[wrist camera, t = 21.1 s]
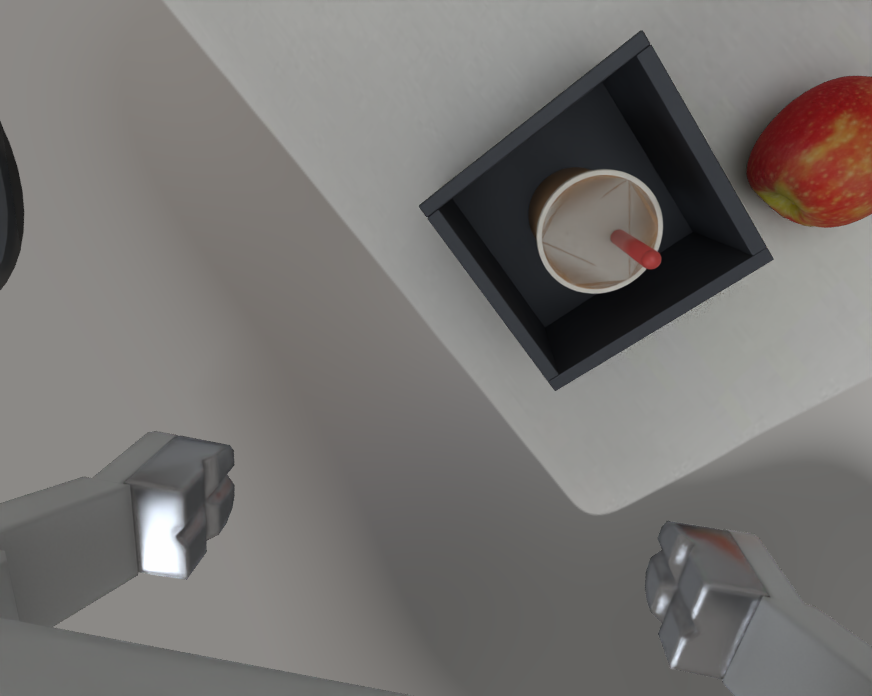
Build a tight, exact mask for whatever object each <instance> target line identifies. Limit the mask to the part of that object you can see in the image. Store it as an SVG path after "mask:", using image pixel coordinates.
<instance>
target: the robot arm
mask: <svg viewBox="0 0 872 696" xmlns="http://www.w3.org/2000/svg"><path fill="white" fill-rule="evenodd" d="M233 466H234V450H233V449H232V448H231V446H230V445H226V444H221V443H216V442H211V441H206V440H201V439H195V438H190V437H185V436H178V435H174V434H169V433H163V432H157V431H154V432H148V433H147V434H145V435H144V436H143V437H142V438H140V439H139V440H138V441H137V442H135V444H133V445H132V446H131V447H130V448H128V449H127V450H126V451H125V452H123V453H122V454H121V455H120V456H118V457H117V458H116V459H115V460H113V461H112V462H111V463H110V464H109V465H107V466H106V467H105V468H104V469H103V470H101V471H100V472H99V473H98V474H96V475H95V476H94V477H93V478H89V477H81V478H78V479H75V480H71V481H68V482H65V483H62V484H59V485H56V486H53V487H50V488H47V489H44V490H40V491H37V492H34V493H31V494H28V495H25V496H21V497H18V498H15V499H12V500H9V501H6V502H3V503H0V696H412V695H407V694H402V693H396V692H391V691H386V690H381V689H375V688H370V687H365V686H359V685H354V684H349V683H343V682H338V681H333V680H327V679H322V678H317V677H312V676H306V675H301V674H296V673H290V672H285V671H280V670H275V669H269V668H264V667H259V666H253V665H248V664H242V663H238V662H232V661H227V660H222V659H216V658H211V657H206V656H201V655H195V654H190V653H185V652H180V651H174V650H169V649H164V648H158V647H153V646H147V645H142V644H137V643H132V642H127V641H121V640H116V639H111V638H105V637H100V636H95V635H89V634H84V633H79V632H74V631H69V630H63V629H58V628H53V626H55V625H57V624H58V623H60V622H62V621H63V620H65V619H67V618H68V617H70V616H71V615H73V614H75V613H76V612H78V611H79V610H81V609H83V608H85V607H86V606H88V605H90V604H91V603H93V602H94V601H96V600H98V599H99V598H101V597H103V596H104V595H106V594H108V593H109V592H111V591H113V590H114V589H116V588H117V587H119V586H121V585H123V584H124V583H126V582H127V581H129V580H131V579H132V578H134V577H136V576H137V575H138V572H140V573H147V574H153V575H160V576H166V577H173V578H180V579H188V577H189V576H190V574H191V573H192V571H193V570H194V569H195V567H196V566H197V565H198V563H199V562H200V560H201V559H202V558H203V556H204V555H205V553H206V551H207V550H206V541H207V540H209V539H211V538H213V537H215V536H217V535H219V533H220V532H221V530H222V529H223V528H224V526H225V525H226V523H227V520H228V518H229V515H230V513H231V510H232V506H233V501H234V484H233V482H232V481H231V479H230V478H229V476H228V475H227V474H228V472H229V471H230V470H231V469H232V467H233ZM658 541H659V543H660V546H661V548H662V550H661V551H660V552H658V553H657V554H655V555H654V556H652V557H651V558H650V561H649V564H648V568H647V571H646V580H645V591H646V598H647V602H648V605H649V608H650V611H651V613H652V614H653V615H654V616H655V617H657V619H658V620H659V621H661V622H662V625H661V627H660V630H659V633H658V635H659V637H660V640H661V643H662V646H663V649H664V652H665V654H666V657H667V660H668V663H669V665H670V668H671V669H676V670H680V671H685V672H690V673H695V674H699V675H704V676H709V677H713V678H718V679H723V681H722V682H723V684H724V685H725V686H726V687H727V688H728V689H729V691H730V692H731V693H732V694H733V695H734V696H872V646H871V645H869V644H868V643H866V642H865V641H864V640H862V639H861V638H859V637H858V636H856V635H855V634H854V633H852V632H851V631H850V630H848V629H847V628H845V627H844V626H842V625H841V624H840V623H838V622H837V621H835V620H834V619H833V618H831V617H830V616H829V615H827V614H825V613H824V612H823V611H821V610H820V609H819V608H817V607H816V606H814V605H809V604H805V603H804V602H803V600H802V599H801V597H800V596H799V594H798V593H797V592H796V590H795V589H794V587H793V586H792V584H791V583H790V582H789V580H788V579H787V577H786V576H785V574H784V573H783V572H782V570H781V569H780V567H779V566H778V564H777V563H776V562H775V560H774V559H773V557H772V556H771V554H770V553H769V551H768V550H767V549H766V547H765V546H764V544H763V543H762V541H761V540H760V538H758V537H757V536H755V535H754V534H752V533H747V532H740V531H733V530H726V529H723V530H720V529H715V528H709V527H702V526H696V525H689V524H683V523H677V522H671V521H667V522H666V523H665V524H664V525H663V526H662V528H661V531H660V533H659V536H658Z"/></svg>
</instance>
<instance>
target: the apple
mask: <svg viewBox="0 0 872 696" xmlns="http://www.w3.org/2000/svg"><path fill="white" fill-rule="evenodd" d="M746 174H747V179H748V182H749V184H750V186H751V187H752V189H753V190H754V191H755V192H756V193H757V194H758V195H759V196H760V197H761V198H762V199H763V200H764V201H765V202H766V203H767V204H768V205H769V206H770V207H771V208H772V209H774V210H775V211H776V212H777V213H779V214H780V215H781V216H783V217H784V218H787V219H789V220H791V221H793V222H795V223H798V224H801V225H804V226H810V227H811V226H816V227H824V228H826V227H837V226H843V225H847V224H850V223H853V222H855V221H858V220H860V219H863V218H865V217H867V216H869V215H871V214H872V77H867V76H846V77H840V78H837V79H833V80H830V81H827V82H824V83H822V84H820V85H818V86H816V87H814V88H812V89H810V90H808V91H807V92H805V93H803V94H802V95H800V96H799V97H797V98H796V99H795V100H793V101H792V102H791V103H789V104H788V105H787V106H786V107H785V108H784V109H783V110H782V111H781V112H780V113H779V114H778V115H777V116H776V117H775V118H774V119H773V120H772V121H771V122H770V124H769V125H768V126H767V127H766V128H765V130H764V131H763V132H762V134H761V135H760V136H759V138H758V140H757V141H756V143H755V145H754V147H753V149H752V151H751V154H750V157H749V160H748V164H747V172H746Z"/></svg>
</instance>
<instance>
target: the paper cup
mask: <svg viewBox="0 0 872 696" xmlns="http://www.w3.org/2000/svg"><path fill="white" fill-rule="evenodd" d="M528 218H529V224H530V228H531V231H532V233H533V235H534V237H535V239H536V242H537V248H538V252H539V255H540V258H541V260H542V262H543V264H544V266H545V268H546V269H547V271H548V272H549V273H550V274H551V276H553V277H554V278H555V279H556V280H557V281H558V282H559V283H561V284H562V285H564V286H566V287H568V288H570V289H572V290H575V291H578V292H583V293H591V294H595V293H606V292H610V291H614V290H617V289H619V288H622V287H624V286H626V285H628V284H629V283H631V282H632V281H634V280H635V279H637V278H638V277H639V276H640V275H641V274H642V273H643V272H644V271H645V270H646V269H655V268H657V267H658V266H659V265H660V263H661V255H660V253H659V252H658V249H659V246H660V244H661V239H662V234H663V218H662V212H661V209H660V206H659V203H658V201H657V199H656V197H655V195H654V194H653V193H652V191H651V190H650V189H649V188H648V187H647V186H646V185H645V184H644V183H643V182H642V181H640V180H639V179H638V178H636V177H634V176H632V175H630V174H628V173H625V172H622V171H617V170H611V169H597V170H591V169H586V168H580V167H572V168H566V169H562V170H559V171H557V172H555V173H553V174H551V175H550V176H548V177H547V178H546V179H545V180H544V181H543V182H542V183H541V184H540V185H539V186H538V188H537V189H536V190H535V192H534V194H533V196H532V199H531V201H530V205H529V212H528Z"/></svg>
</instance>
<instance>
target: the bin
mask: <svg viewBox="0 0 872 696" xmlns="http://www.w3.org/2000/svg"><path fill="white" fill-rule="evenodd" d="M572 167H580V168H586V169H591V170H597V169H611V170H617V171H622V172H625V173H628V174H630V175H632V176H634V177H636V178H638V179H639V180H640V181H642V182H643V183H644V184H645V185H646V186H647V187H648V188H649V189H650V190H651V191H652V193H653V194H654V195H655V197H656V199H657V201H658V203H659V206H660V209H661V212H662V218H663V234H662V239H661V244H660V246H659V249H658V252H659V253H660V255H661V263H660V265H659V266H658V267H657V268H655V269H646V270H645V271H644V272H643V273H642V274H641V275H640V276H639V277H638V278H637V279H635V280H634V281H632V282H631V283H629V284H628V285H626V286H624V287H622V288H619V289H617V290H614V291H610V292H606V293H595V294H591V293H583V292H578V291H575V290H572V289H570V288H568V287H566V286H564V285H562V284H561V283H559V282H558V281H557V280H556V279H555V278H554V277H553V276H551V274H550V273H549V272H548V271H547V269H546V268H545V266H544V264H543V262H542V260H541V258H540V255H539V252H538V248H537V242H536V239H535V237H534V235H533V233H532V231H531V228H530V224H529V218H528V212H529V205H530V201H531V199H532V196H533V194H534V192H535V190H536V189H537V188H538V186H539V185H540V184H541V183H542V182H543V181H544V180H545V179H546V178H547V177H548V176H550V175H551V174H553V173H555V172H557V171H559V170H562V169H566V168H572ZM419 208H420V209H421V210H422V212H423V213H424V214H425V216H426V217H428V220H429V221H430V223H431V224H432V225H433V227H434V228H435V229H436V231H437V232H438V233H439V235H440V236H441V238H442V239H443V240H444V242H445V243H446V244H447V246H448V247H449V248H450V250H451V251H452V252H453V254H454V255H455V256H456V258H457V259H458V261H459V262H460V263H461V265H462V266H463V267H464V269H465V270H466V271H467V273H468V274H469V275H470V277H471V278H472V279H473V281H474V282H475V283H476V285H477V286H478V288H479V289H480V290H481V292H482V293H483V294H484V296H485V297H486V298H487V300H488V301H489V302H490V304H491V305H492V306H493V308H494V309H495V311H496V312H497V313H498V315H499V316H500V317H501V319H502V320H503V321H504V323H505V324H506V325H507V327H508V328H509V329H510V331H511V332H512V334H513V335H514V336H515V338H516V339H517V340H518V342H519V343H520V344H521V346H522V347H523V348H524V350H525V351H526V352H527V354H528V355H529V357H530V358H531V359H532V361H533V362H534V363H535V365H536V366H537V367H538V369H539V370H540V371H541V373H542V374H543V375H544V377H545V378H546V379H547V381H548V382H549V384H550V385H551V386H552V388H553V389H554V390H555V391H556V390H558V389H560V388H561V387H563V386H565V385H566V384H568V383H570V382H571V381H573V380H574V379H576V378H578V377H579V376H581V375H583V374H584V373H586V372H588V371H589V370H591V369H593V368H594V367H596V366H598V365H599V364H601V363H603V362H604V361H606V360H608V359H609V358H611V357H613V356H614V355H616V354H618V353H619V352H621V351H623V350H624V349H626V348H628V347H629V346H631V345H633V344H634V343H636V342H638V341H639V340H641V339H643V338H644V337H646V336H648V335H649V334H651V333H653V332H654V331H656V330H658V329H659V328H661V327H662V326H664V325H666V324H667V323H669V322H671V321H672V320H674V319H676V318H677V317H679V316H681V315H682V314H684V313H686V312H687V311H689V310H691V309H692V308H694V307H696V306H697V305H699V304H701V303H702V302H704V301H706V300H707V299H709V298H711V297H712V296H714V295H716V294H717V293H719V292H721V291H722V290H724V289H726V288H727V287H729V286H731V285H732V284H734V283H736V282H737V281H739V280H741V279H742V278H744V277H746V276H747V275H749V274H751V273H752V272H754V271H755V270H757V269H759V268H760V267H762V266H764V265H765V264H767V263H769V262H770V261H772V260H773V257H772V255H771V254H770V252H769V250H768V248H766V245H765V243H764V241H763V240H762V238H761V236H760V234H759V233H758V231H757V229H756V227H755V226H754V224H753V222H752V220H751V219H750V217H749V215H748V213H747V212H746V210H745V208H744V206H743V205H742V203H741V201H740V199H739V197H738V196H737V194H736V192H735V190H734V189H733V187H732V185H731V183H730V182H729V180H728V178H727V176H726V175H725V173H724V171H723V169H722V168H721V166H720V164H719V162H718V161H717V159H716V157H715V155H714V154H713V152H712V150H711V148H710V147H709V145H708V143H707V141H706V140H705V138H704V136H703V134H702V133H701V131H700V129H699V127H698V126H697V124H696V122H695V120H694V119H693V117H692V115H691V113H690V112H689V110H688V108H687V106H686V105H685V103H684V101H683V99H682V98H681V96H680V94H679V92H678V91H677V89H676V87H675V85H674V84H673V82H672V80H671V78H670V77H669V75H668V73H667V71H666V70H665V68H664V66H663V64H662V63H661V61H660V59H659V57H658V56H657V54H656V52H655V50H654V49H653V47H652V45H650V42H649V40H648V39H647V37H646V35H645V33H644V32H643V31H642V30H641V31H639V32H638V33H637V34H636V35H634V36H633V37H632V38H631V39H629V40H628V41H627V42H625V43H624V44H623V45H622V46H620V47H619V48H618V49H617V50H615V51H614V52H613V53H612V54H610V55H609V56H608V57H606V58H605V59H604V60H603V61H601V62H600V63H599V64H598V65H596V66H595V67H594V68H593V69H591V70H590V71H589V72H587V73H586V74H585V75H584V76H582V77H581V78H580V79H579V80H577V81H576V82H575V83H574V84H572V85H571V86H570V87H568V88H567V89H566V90H565V91H563V92H562V93H561V94H560V95H558V96H557V97H556V98H554V99H553V100H552V101H551V102H549V103H548V104H547V105H546V106H544V107H543V108H542V109H541V110H539V111H538V112H537V113H535V114H534V115H533V116H532V117H530V118H529V119H528V120H527V121H525V122H524V123H523V124H522V125H520V126H519V127H518V128H516V129H515V130H514V131H513V132H511V133H510V134H509V135H508V136H506V137H505V138H504V139H503V140H501V141H500V142H499V143H497V144H496V145H495V146H494V147H492V148H491V149H490V150H489V151H487V152H486V153H485V154H484V155H482V156H481V157H480V158H478V159H477V160H476V161H475V162H473V163H472V164H471V165H470V166H468V167H467V168H466V169H464V170H463V171H462V172H461V173H459V174H458V175H457V176H456V177H454V178H453V179H452V180H451V181H449V182H448V183H447V184H445V185H444V186H443V187H442V188H440V189H439V190H438V191H437V192H435V193H434V194H433V195H432V196H430V197H429V198H428V199H426V200H425V201H424V202H423V203H421V204H420V205H419Z"/></svg>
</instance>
